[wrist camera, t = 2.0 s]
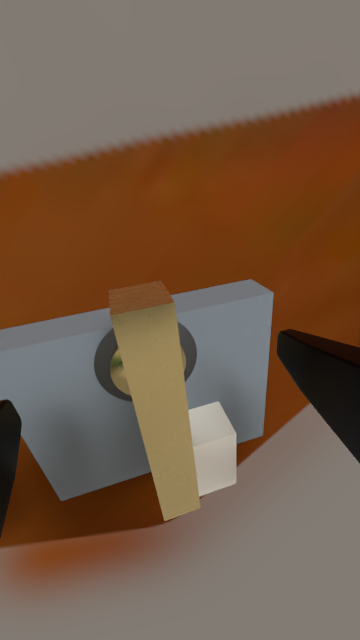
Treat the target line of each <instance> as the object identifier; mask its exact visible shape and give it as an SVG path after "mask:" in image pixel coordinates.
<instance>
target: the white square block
mask: <svg viewBox="0 0 360 640" xmlns="http://www.w3.org/2000/svg"><path fill="white" fill-rule="evenodd" d="M188 411H189V419H190V427H191V435H192V443H193V451H194V459H195V467H196V475H197V483H198V491H199V496H202V495H205V494H208V493H210V492H213V491H216V490H219V489H222V488H225V487H227V486H230V485H233V484H236V432H235V430H234V428H233V426H232V425H231V423H230V421H229V419H228V417H227V415H226V414H225V412H224V410H223V408H222V406H221V404H220V403H219V401H217V402H214V403H211V404H207V405H204V406H200V407H197V408H193V409H190V410H188Z"/></svg>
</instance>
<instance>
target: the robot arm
mask: <svg viewBox="0 0 360 640" xmlns="http://www.w3.org/2000/svg"><path fill="white" fill-rule="evenodd" d="M277 355H278V357H279V358H280V360H281V362H282V363H283V365H284V366H285V368H286V369H287V371H288V372H289V374H290V375H291V377H292V378H293V380H294V381H295V383H296V384H297V386H298V387H299V389H300V390H301V391H302V393H303V394H304V395H305V397H306V398H307V399H308V400H309V402H310V403H311V404H312V405H313V406H314V408H315V409H316V410H317V411H318V413H319V414H320V415H321V416H322V417H323V419H324V420H325V421H326V422H327V424H328V425H329V426H330V427H331V429H332V430H333V431H334V432H335V433H336V435H337V436H338V437H339V438H340V440H341V441H342V442H343V443H344V445H345V446H346V447H347V448H348V450H349V451H350V452H351V453H352V454H353V456H354V457H355V458H356V459H357V461H358V462H359V463H360V348H359V347H355V346H352V345H348V344H344V343H340V342H337V341H333V340H329V339H326V338H322V337H318V336H315V335H311V334H307V333H303V332H300V331H296V330H292V329H288V330H284V331H280V332H279V334H278V341H277ZM21 428H22V421H21V417H20V416H19V414H18V412H17V410H16V409H15V407H14V405H13V403H12V402H11V401H10V400H8V399H5V400H0V537H1V533H2V529H3V525H4V521H5V516H6V512H7V508H8V504H9V500H10V496H11V492H12V488H13V483H14V479H15V474H16V467H17V460H18V452H19V444H20V436H21Z"/></svg>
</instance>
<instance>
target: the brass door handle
mask: <svg viewBox="0 0 360 640" xmlns="http://www.w3.org/2000/svg"><path fill="white" fill-rule="evenodd" d="M109 305H110V317H111V321H112V325H113V329H114V332H115V336H116V340H117V344H118V346H117V347H116V348H115V350H114V351H113V354H112V356H111V360H110V374H111V378H112V381H113V382H114V384H115V386H116V387H117V388H118V389H119V390H121V391H122V392H124V393H125V394H128V395H130V396H132V400H133V404H134V408H135V412H136V415H137V419H138V423H139V427H140V430H141V434H142V438H143V442H144V446H145V449H146V453H147V457H148V461H149V464H150V468H151V472H152V476H153V480H154V483H155V487H156V491H157V495H158V498H159V502H160V506H161V510H162V514H163V517H164V521H166V520H169V519H172V518H175V517H177V516H180V515H183V514H186V513H188V512H191V511H194V510H197V509H199V508H201V507H200V499H199V491H198V483H197V475H196V467H195V459H194V451H193V443H192V435H191V427H190V419H189V411H188V403H187V395H186V387H185V379H184V371H185V367H186V357H185V353H184V351H183V349H182V347H181V345H180V340H179V332H178V324H177V316H176V308H175V302H174V300H173V299H172V297H171V295H170V294H169V292H168V291H167V289H166V288H165V286H164V285H163V283H162V281H156V282H150V283H145V284H140V285H135V286H129V287H124V288H119V289H114V290H109Z"/></svg>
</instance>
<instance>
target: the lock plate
mask: <svg viewBox="0 0 360 640" xmlns="http://www.w3.org/2000/svg"><path fill="white" fill-rule="evenodd" d="M273 294H274V293H273V292H272V291H270V290H268V289H267V288H265V287H263V286H262V285H260V284H258V283H257V282H255V281H253V280H252V279H249V280H244V281H239V282H234V283H229V284H224V285H219V286H215V287H210V288H205V289H200V290H195V291H190V292H185V293H180V294H175V295H171V297H172V299H173V300H174V302H175V308H176V316H177V324H178V332H179V340H180V345H181V347H182V349H183V351H184V353H185V357H186V367H185V371H184V379H185V387H186V395H187V403H188V410H190V409H193V408H197V407H200V406H204V405H207V404H211V403H214V402H217V401H219V403H220V404H221V406H222V408H223V410H224V412H225V414H226V415H227V417H228V419H229V421H230V423H231V425H232V426H233V428H234V430H235V432H236V444H238V443H241V442H245V441H248V440H251V439H254V438H257V437H260V436H263V426H264V413H265V400H266V387H267V373H268V360H269V347H270V334H271V320H272V307H273ZM117 346H118V344H117V340H116V336H115V332H114V329H113V325H112V321H111V317H110V308H106V309H101V310H96V311H91V312H86V313H81V314H76V315H71V316H66V317H61V318H56V319H51V320H46V321H41V322H36V323H31V324H26V325H22V326H17V327H12V328H7V329H2V330H0V400H5V399H8V400H10V401H11V402H12V403H13V405H14V407H15V409H16V410H17V412H18V414H19V416H20V417H21V421H22V428H21V436H22V437H23V439H24V441H25V442H26V444H27V446H28V447H29V449H30V451H31V452H32V454H33V456H34V457H35V459H36V461H37V462H38V464H39V466H40V467H41V469H42V471H43V472H44V474H45V476H46V477H47V479H48V481H49V482H50V484H51V485H52V487H53V489H54V490H55V492H56V494H57V495H58V497H59V499H60V500H61V501H64V500H67V499H70V498H73V497H76V496H79V495H82V494H85V493H88V492H91V491H94V490H97V489H100V488H103V487H107V486H110V485H113V484H116V483H119V482H122V481H125V480H128V479H131V478H134V477H137V476H140V475H143V474H146V473H149V472H151V468H150V464H149V461H148V457H147V453H146V449H145V446H144V442H143V438H142V434H141V430H140V427H139V423H138V419H137V415H136V412H135V408H134V404H133V400H132V396H130V395H128V394H125V393H124V392H122V391H121V390H119V389H118V388H117V387H116V386H115V384H114V382H113V381H112V378H111V374H110V360H111V356H112V354H113V351H114V350H115V348H116V347H117Z"/></svg>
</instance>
